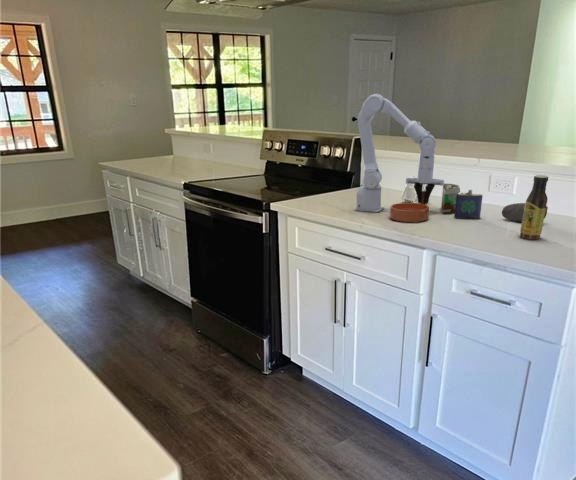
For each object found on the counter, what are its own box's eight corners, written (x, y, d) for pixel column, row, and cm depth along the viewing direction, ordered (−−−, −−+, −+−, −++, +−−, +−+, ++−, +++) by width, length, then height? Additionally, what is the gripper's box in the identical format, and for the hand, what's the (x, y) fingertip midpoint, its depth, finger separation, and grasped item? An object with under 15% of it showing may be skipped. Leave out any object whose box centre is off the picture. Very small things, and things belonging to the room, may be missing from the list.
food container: (459, 215, 195) (462, 189, 191) (443, 214, 196) (445, 188, 192) (456, 208, 206) (459, 183, 202) (440, 207, 207) (443, 183, 203)
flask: (479, 217, 190) (483, 189, 186) (480, 219, 188) (483, 190, 184) (454, 216, 193) (456, 188, 189) (454, 218, 190) (457, 190, 186)
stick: (418, 211, 202) (420, 191, 199) (420, 210, 204) (421, 190, 200) (424, 212, 201) (426, 191, 198) (425, 210, 203) (427, 190, 199)
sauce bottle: (515, 235, 167) (525, 174, 159) (533, 234, 167) (544, 173, 160) (525, 241, 161) (536, 177, 153) (544, 240, 161) (556, 177, 154)
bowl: (385, 221, 190) (385, 209, 188) (396, 212, 201) (396, 201, 200) (423, 224, 184) (424, 212, 182) (431, 215, 195) (432, 204, 193)
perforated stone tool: (498, 220, 186) (501, 201, 183) (503, 217, 189) (505, 199, 187) (542, 226, 177) (545, 206, 174) (546, 223, 180) (549, 203, 178)
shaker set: (399, 202, 220) (401, 176, 215) (404, 200, 223) (406, 174, 218) (424, 205, 212) (427, 178, 208) (429, 203, 215) (431, 177, 211)
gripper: (447, 167, 196) (443, 202, 201) (410, 165, 202) (407, 199, 207) (443, 169, 190) (439, 205, 195) (405, 168, 196) (403, 202, 201)
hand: (423, 202), depth 201 cm, fingers closed on stick, 2 cm apart
